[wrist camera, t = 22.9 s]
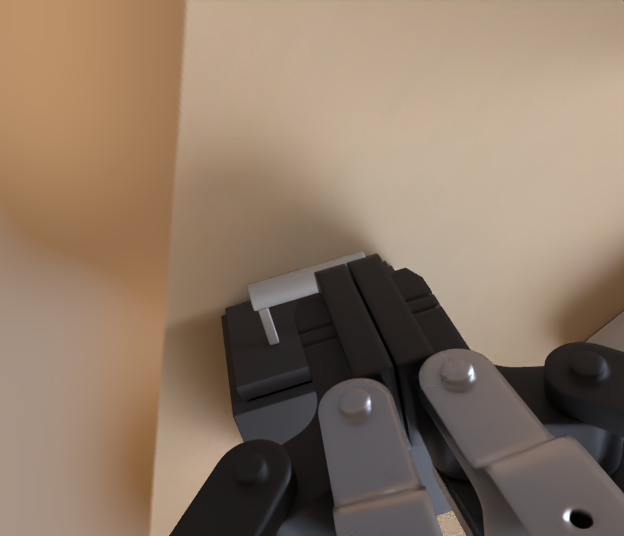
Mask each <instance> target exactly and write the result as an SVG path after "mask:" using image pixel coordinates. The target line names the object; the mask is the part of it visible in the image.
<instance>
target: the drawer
mask: <svg viewBox="0 0 624 536" xmlns="http://www.w3.org/2000/svg"><path fill="white" fill-rule="evenodd" d="M363 257H365V255H364V253H363V252H362V251H361V252H357V253H354V254H350V255H347V256H344V257H340V258H337V259H333V260H330V261H327V262H323V263H320V264H316V265H313V266H310V267H306V268H303V269H299V270H296V271H293V272H289V273H286V274H282V275H279V276H276V277H272V278H269V279H265V280H262V281H259V282H255V283H252V284H248V285H247V290H248V294H249V297H250V301H249V302H245V303H242V304H239V305H235V306H232V307H228V308H226V316H227V324H228V331H229V339H230V346H231V354H232V361H233V369H234V376H235V384H236V389H237V391H238V394H239V396H240V399H241V401H245V400H249V399H252V398H255V397H256V398H257V399H259V398H262V397H266V396H269V395H272V394H275V393H279V392H282V391H285V390H289V389H292V388H295V387H298V386H302V383H304V382H308V381H311V380H312V378H311V375H310V371H309V368H308V364H307V361H306V358H305V354H304V351H303V347H302V344H301V340H300V337H299V334H298V330H297V327H296V323H295V320H294V313H295V309H296V306H297V303H298V300H299V299H303V298H306V297H309V296H313V295H316V294H319V292H318V288H317V284H316V280H315V276H314V272H316V271H320V270H323V269H327V268H330V267H333V266H337V265H340V264H345V265H346V263H347V262H350V261H353V260H357V259H360V258H363ZM383 264H384V265H385V267H386V269H387V270H388V272H389V273H390V272H391V270H390V268H389V267H388V265H387V263H386V262H385V261H384V262H383ZM346 267H347V266H346Z"/></svg>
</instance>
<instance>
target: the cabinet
mask: <svg viewBox="0 0 624 536" xmlns="http://www.w3.org/2000/svg"><path fill="white" fill-rule="evenodd" d="M389 268H390V270H391V272H393V271H395V270H394V269H393V267H392V266H390V267H389ZM221 319H222V327H223V335H224V344H225V352H226V361H227V369H228V377H229V386H230V394H231V402H232V411H233V417H234V419H235V422H236V424H237V427H238V429H239V431H240V434H241V436H242V438H243V441H244V442H246V441H250V440H256V439H266V440H271V441H274V442H276V443H278V444H280V445H282V444H284V443H285V442H287V441H289V440H290V439H292V438H293V437H295V436H296V435H298V434H299V433H300V432H301V431H303V430H304V429H305V428H306V427H307V425H308V424H309V423H310V422H311V420H312V418H313V417H314V414H315V412H316V408H317V396H316V392H315V388H314V385H313V382H312V383H308V384H305V385H302V386H298V387H295V388H292V389H289V390H285V391H282V392H279V393H275V394H272V395H269V396H266V397H262V398H259V399H257V398H256V397H255V398H252V399H249V400H245V401H241V399H240V396H239V394H238V391H237V389H236V384H235V376H234V369H233V361H232V354H231V346H230V339H229V331H228V324H227V316H226V315H225V316H222V317H221ZM406 437H407V436H406ZM407 442H408V445H409V448H410V451H411V454H412V457H413V460H414V463H415V466H416V469H417V472H418V475H419V478H420V481H421V483H422V486H425V487H426V489H427V491H428V494H429V497H430V499H431V502H432V505H433V508H434V511H435V514H436V516H437V515H440V514H443V513H446V512H449V511H452V508H451V507H450V505H449V503H448V501H447V499H446V498H445V496H444V494H443V492H442V490H441V489H440V487H439V485H438V483H437V481H436V479H435V477H434V474H433V469H432V462H431V457H430V455H429V453H428V451H427V448H426V446H425V444H422V445H419V446H416V447H413V448H412V447H411V445H410V443H409V440H408V438H407Z"/></svg>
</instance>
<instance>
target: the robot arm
mask: <svg viewBox="0 0 624 536" xmlns="http://www.w3.org/2000/svg"><path fill="white" fill-rule="evenodd" d="M346 266H347V267H346ZM314 276H315V280H316V284H317V288H318V292H319V294H316V295H313V296H309V297H306V298H303V299H299V300H298V303H297V306H296V309H295V313H294V320H295V323H296V327H297V330H298V334H299V337H300V340H301V344H302V347H303V351H304V354H305V358H306V361H307V364H308V368H309V371H310V375H311V378H312V382H313V385H314V388H315V392H316V396H317V408H316V412H315V414H314V417H313V418H312V420H311V422H310V423H309V424H308V425H307V427H306V428H305V429H304V430H303V431H301V432H300V433H299V434H298V435H296V436H295V437H293V438H292V439H290V440H289V441H287V442H285V443H284V444H282V445H280V444H278V443H276V442H274V441H271V440H266V439H256V440H250V441H246V442H244V443H241V444H239V445H237V446H235V447H234V448H232V449H231V450H230V451H228V452H227V453H226V454H225V455H224V456H223V457H222V458H221V460H220V461H219V462H218V464H217V465H216V467H215V468H214V470H213V471H212V473H211V474H210V476H209V477H208V479H207V480H206V482H205V483H204V485H203V486H202V488H201V489H200V491H199V492H198V494H197V495H196V497H195V498H194V499H193V501H192V502H191V504H190V505H189V507H188V508H187V510H186V511H185V513H184V514H183V516H182V517H181V519H180V520H179V522H178V523H177V525H176V526H175V528H174V529H173V531H172V532H171V534H170V535H169V536H443V535H442V532H441V529H440V526H439V523H438V520H437V517H436V514H435V511H434V508H433V505H432V502H431V499H430V497H429V494H428V491H427V489H426V487H425V486H422V483H421V481H420V478H419V475H418V472H417V469H416V466H415V463H414V460H413V457H412V454H411V451H410V448H409V445H408V442H407V438H408V440H409V443H410V445H411V447H412V448H413V447H416V446H419V445H422V444H425V446H426V448H427V451H428V453H429V455H430V457H431V462H432V469H433V474H434V477H435V479H436V481H437V483H438V485H439V487H440V489H441V490H442V492H443V494H444V496H445V498H446V499H447V501H448V503H449V505H450V507H451V508H452V510H453V512H454V514H455V516H456V517H457V519H458V521H459V523H460V525H461V526H462V528H463V530H464V532H465V534H466V535H467V536H624V352H622V351H619V350H616V349H612V348H609V347H606V346H603V345H599V344H595V343H588V342H577V343H570V344H565V345H563V346H560V347H558V348H556V349H555V350H553V351H552V352H551V353H550V354H549V355H548V356H547V358H546V360H545V364H544V366H537V367H503V366H498V365H494V364H493V363H492V362H491V361H490V360H489V359H488V358H486V357H485V356H484V355H482V354H480V353H478V352H475V351H472V350H470V349H469V347H468V346H467V344H466V343H465V341H464V340H463V338H462V337H461V335H460V334H459V332H458V331H457V329H456V328H455V326H454V325H453V323H452V321H451V320H450V318H449V317H448V315H447V314H446V312H445V311H444V309H443V308H442V306H440V304H439V302H438V300H437V299H436V297H435V296H434V295H433V294H432V291H431V290H430V288H429V287H428V285H427V284H426V282H425V281H424V279H423V278H422V277H421V276H419V275H417V274H415V273H414V272H412V271H410V270H409V269H407V268H403V269H400V270H397V271H393V272H390V273H389V272H388V270H387V269H386V267H385V265H384V264H383V262H382V260H381V258H380V257H379V255H378V254H374V255H370V256H367V257H363V258H360V259H357V260H353V261H350V262H347V263H346V265H345V264H340V265H337V266H333V267H330V268H327V269H323V270H320V271H316V272H314ZM406 436H407V437H406Z"/></svg>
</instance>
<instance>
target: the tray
mask: <svg viewBox="0 0 624 536" xmlns="http://www.w3.org/2000/svg"><path fill="white" fill-rule="evenodd" d="M585 342H588V343H595V344H599V345H603V346H606V347H609V348H612V349H616V350H619V351H622V352H624V311H623V312H622V313H620V314H619V315H618V316H617V317H615V318H614V319H613V320H612V321H610V322H609V323H608V324H607V325H605V326H604V327H603V328H602V329H600V330H599V331H598V332H597V333H595V334H594V335H593V336H592V337H590V338H589V339H588V340H587V341H585Z"/></svg>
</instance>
